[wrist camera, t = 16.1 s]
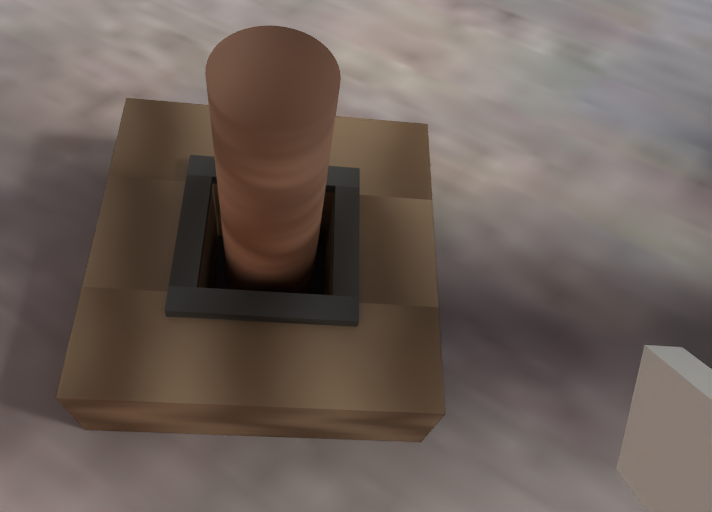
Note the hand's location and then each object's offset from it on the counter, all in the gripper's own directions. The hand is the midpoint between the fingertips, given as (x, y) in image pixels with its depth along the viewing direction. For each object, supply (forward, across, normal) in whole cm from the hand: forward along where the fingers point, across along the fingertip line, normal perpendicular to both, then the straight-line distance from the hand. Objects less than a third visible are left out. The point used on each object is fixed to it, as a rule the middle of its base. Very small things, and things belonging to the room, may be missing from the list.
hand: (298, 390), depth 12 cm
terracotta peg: (+23, -2, -6) cm, 23 cm away
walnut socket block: (+23, -2, -6) cm, 24 cm away
